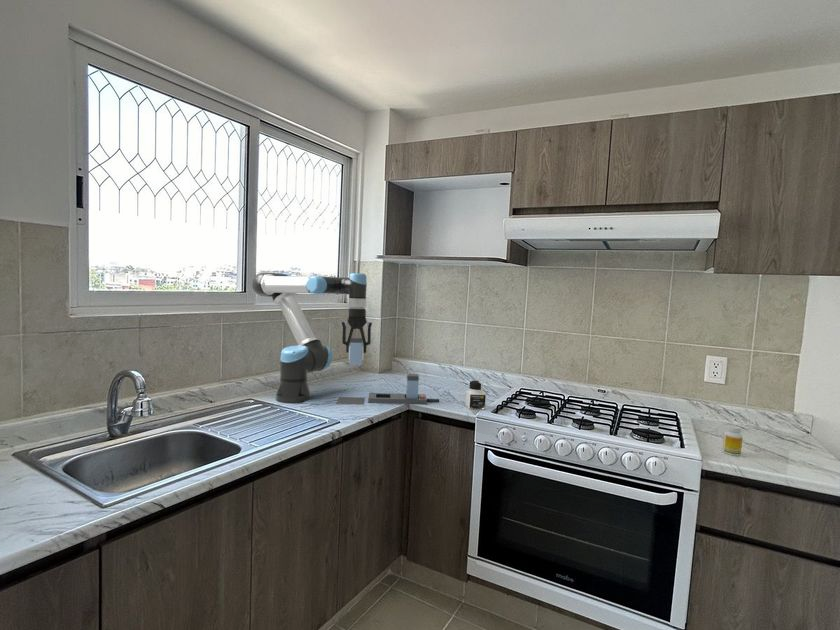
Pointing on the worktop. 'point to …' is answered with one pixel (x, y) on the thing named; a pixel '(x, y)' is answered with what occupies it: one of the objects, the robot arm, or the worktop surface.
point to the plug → (356, 350)
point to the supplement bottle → (732, 441)
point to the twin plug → (412, 386)
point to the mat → (350, 400)
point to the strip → (398, 399)
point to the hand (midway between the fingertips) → (356, 359)
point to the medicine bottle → (475, 395)
